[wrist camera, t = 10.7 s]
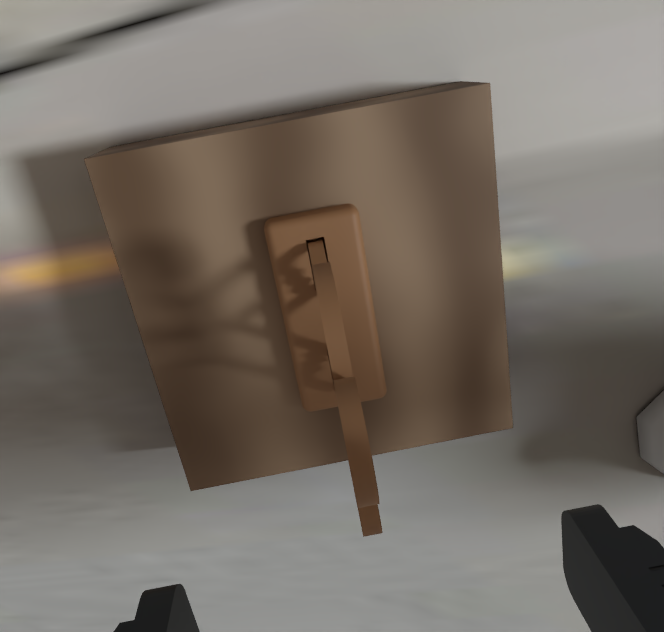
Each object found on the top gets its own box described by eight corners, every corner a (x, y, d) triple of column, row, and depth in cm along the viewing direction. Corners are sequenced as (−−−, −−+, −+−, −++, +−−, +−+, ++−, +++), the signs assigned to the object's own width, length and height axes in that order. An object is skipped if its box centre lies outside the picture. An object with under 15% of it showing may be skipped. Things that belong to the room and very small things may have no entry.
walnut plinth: (461, 81, 27) (490, 83, 24) (486, 388, 34) (513, 427, 30) (110, 147, 27) (84, 159, 24) (200, 444, 33) (190, 490, 30)
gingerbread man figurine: (262, 219, 25) (252, 337, 14) (355, 201, 25) (419, 306, 14) (303, 404, 28) (320, 619, 17) (385, 388, 28) (455, 592, 17)
